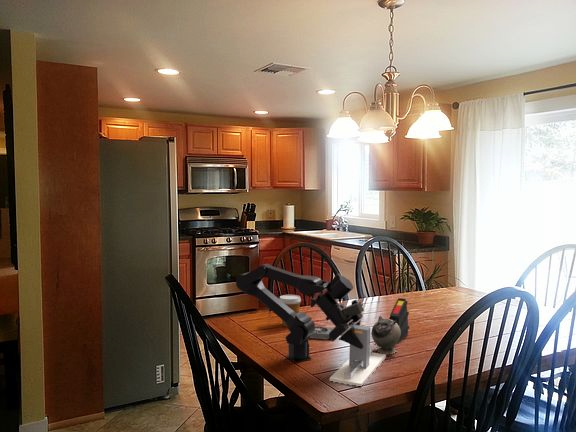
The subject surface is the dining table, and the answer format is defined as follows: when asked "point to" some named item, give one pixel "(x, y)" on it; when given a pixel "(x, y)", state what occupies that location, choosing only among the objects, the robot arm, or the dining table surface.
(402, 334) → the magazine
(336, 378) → the mounting board
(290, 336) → the robot arm
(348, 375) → the metal rail
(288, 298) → the disposable coffee cup
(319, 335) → the graphics card
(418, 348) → the dining table surface
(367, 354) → the module
